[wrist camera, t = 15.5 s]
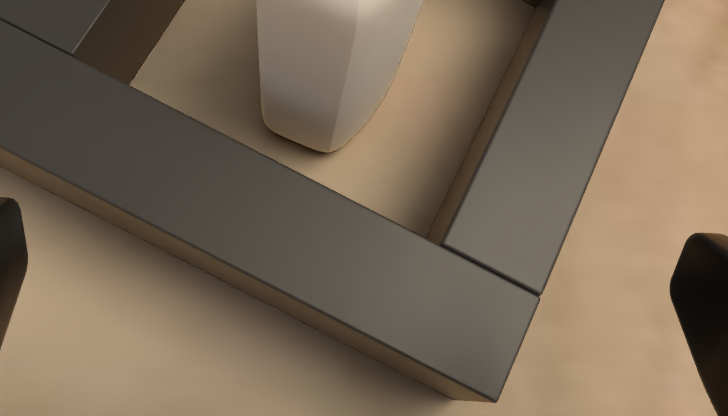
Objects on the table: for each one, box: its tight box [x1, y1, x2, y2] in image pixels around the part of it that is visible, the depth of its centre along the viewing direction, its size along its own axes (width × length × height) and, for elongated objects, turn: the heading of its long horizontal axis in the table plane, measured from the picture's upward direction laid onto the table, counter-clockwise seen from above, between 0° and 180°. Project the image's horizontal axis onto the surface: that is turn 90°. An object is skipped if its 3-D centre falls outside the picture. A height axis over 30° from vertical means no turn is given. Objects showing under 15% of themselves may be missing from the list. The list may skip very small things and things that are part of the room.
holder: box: [0, 0, 665, 403], centre depth 18 cm, size 14×14×4 cm
